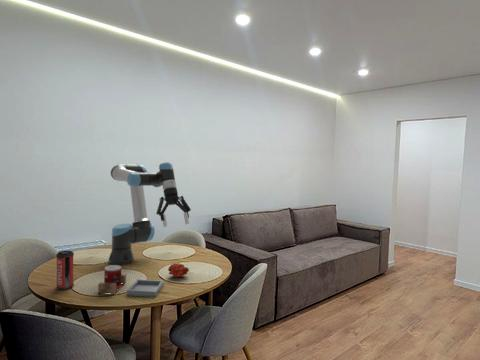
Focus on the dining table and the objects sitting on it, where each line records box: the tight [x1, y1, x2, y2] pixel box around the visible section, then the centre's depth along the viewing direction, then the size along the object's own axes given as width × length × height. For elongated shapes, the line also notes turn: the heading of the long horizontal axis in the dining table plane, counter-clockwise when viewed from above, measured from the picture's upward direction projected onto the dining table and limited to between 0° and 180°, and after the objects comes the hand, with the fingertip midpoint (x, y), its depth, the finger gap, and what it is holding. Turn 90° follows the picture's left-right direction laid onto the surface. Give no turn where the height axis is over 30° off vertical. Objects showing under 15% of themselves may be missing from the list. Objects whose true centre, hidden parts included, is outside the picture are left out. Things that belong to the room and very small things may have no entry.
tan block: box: [97, 273, 127, 295], centre depth 156 cm, size 8×14×5 cm, turn 178°
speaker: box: [55, 250, 75, 291], centre depth 155 cm, size 8×8×18 cm
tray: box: [126, 279, 165, 298], centre depth 156 cm, size 14×14×2 cm
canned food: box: [103, 264, 122, 291], centre depth 156 cm, size 8×8×11 cm
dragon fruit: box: [167, 262, 190, 279], centre depth 175 cm, size 8×8×12 cm
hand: (176, 225), depth 170 cm, fingers open, 13 cm apart
